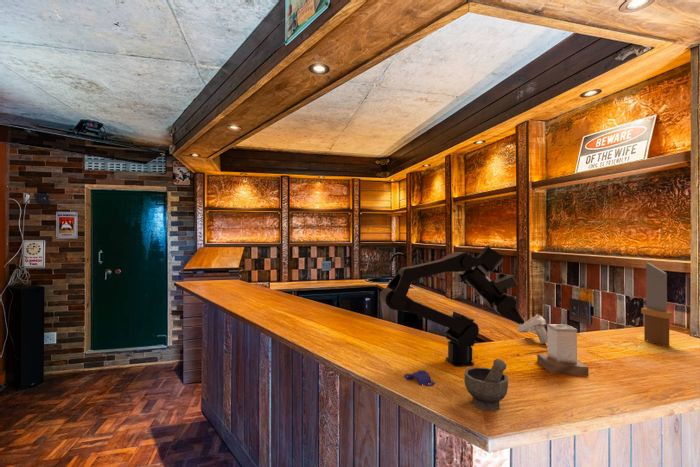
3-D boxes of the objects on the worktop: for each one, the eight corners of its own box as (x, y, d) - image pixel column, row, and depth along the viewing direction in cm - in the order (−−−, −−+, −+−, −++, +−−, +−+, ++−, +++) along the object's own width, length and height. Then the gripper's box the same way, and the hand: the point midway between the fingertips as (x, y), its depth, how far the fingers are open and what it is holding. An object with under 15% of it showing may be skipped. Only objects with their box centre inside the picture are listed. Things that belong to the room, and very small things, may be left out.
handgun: (554, 342, 125) (549, 311, 130) (543, 341, 125) (538, 310, 130) (527, 350, 142) (523, 323, 147) (517, 349, 143) (514, 322, 147)
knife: (641, 339, 135) (641, 262, 135) (649, 339, 135) (649, 262, 136) (664, 346, 126) (663, 264, 127) (672, 346, 127) (672, 264, 127)
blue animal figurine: (438, 385, 93) (438, 375, 93) (428, 390, 90) (428, 380, 90) (409, 374, 100) (409, 365, 100) (399, 379, 97) (399, 370, 97)
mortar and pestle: (456, 396, 85) (456, 347, 85) (490, 393, 87) (490, 345, 87) (484, 420, 74) (484, 364, 74) (522, 415, 76) (522, 360, 76)
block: (550, 375, 100) (550, 364, 100) (537, 363, 110) (537, 353, 110) (588, 377, 99) (588, 367, 99) (571, 365, 109) (571, 355, 109)
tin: (557, 363, 102) (556, 329, 102) (547, 356, 108) (546, 324, 108) (577, 363, 102) (577, 329, 102) (566, 356, 107) (566, 324, 107)
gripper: (509, 268, 100) (550, 308, 98) (492, 263, 118) (526, 297, 117) (480, 294, 101) (520, 334, 99) (468, 286, 119) (501, 319, 118)
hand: (518, 319), depth 108 cm, fingers open, 9 cm apart
